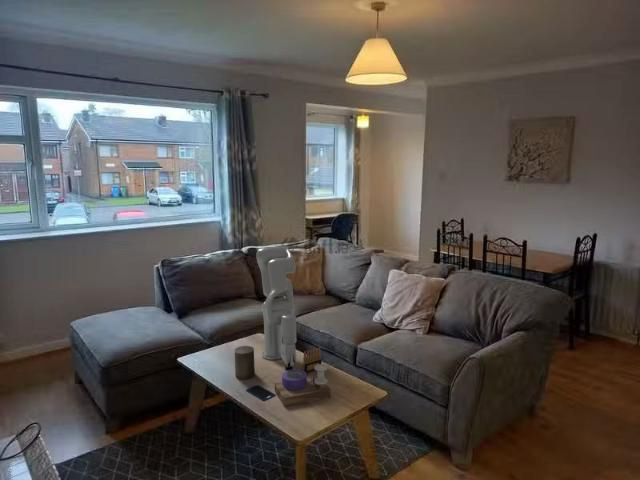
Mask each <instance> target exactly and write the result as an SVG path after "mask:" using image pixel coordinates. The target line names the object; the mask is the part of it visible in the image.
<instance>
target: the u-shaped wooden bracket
mask: <svg viewBox="0 0 640 480" xmlns="http://www.w3.org/2000/svg"><path fill="white" fill-rule="evenodd" d="M316 378H317V375H314V376H313V375H312V385H313V386H314V388H315V389H316V390H311V391H308V392H302V393H298V394H293V395H290V394H289V392H288V391H287V389H286V388H284V387H283V385H282V382H277V383H274V394H275V395H276V396H277V398H278V399H279V401H280V402H281V405H282V406H283V407H285V408H286V407H290V406H294V405H295V406H296V405H300V404H304V403H308V402H313V401H318V400H324V399H327V398H331V388H330V387H329V385H328V384H325V385H317V384H315V382H314V380H315V379H316Z"/></svg>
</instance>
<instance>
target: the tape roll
mask: <svg viewBox="0 0 640 480" xmlns="http://www.w3.org/2000/svg"><path fill="white" fill-rule="evenodd" d="M307 374H308V373H305V372H304V371H303V369H297V368H296V369H295V368H293V369H291V370H287V371H285V370H284V372H282V374H281V384H282V385H283V387H284V388H285V389H286V390H290V391H298V390H302V389H304V388H305V387H307V381H308V379H307V376H308V375H307Z"/></svg>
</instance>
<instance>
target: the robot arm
mask: <svg viewBox="0 0 640 480" xmlns="http://www.w3.org/2000/svg"><path fill="white" fill-rule="evenodd" d="M255 257H256V261H257V265H258V268H259V270H260V273H261V274H260V275H261V283H262V292H263V295H264V296H265V297H266V299H265V301H264V302H263V303H262V306H261V311H262V316H263V327H264V328H263V331H264V333H263V335H264V337H263V339H264V350H263V351H262V353H261V357H262V358H264V359H265V360H270V361H274V360H275V361H276V360H280V359H282V361H283V362H284V363H285V364H284V366H285V370H284V372H285V371H287V370H291V369H294V363H296V361H297V354H296V353H297V352H296V351H297V350H296V343H297V316H296V314H295V300H294V291H293V285H292V281H291V280H290V278H287V275H288V274H294V273H296V271H297V269H296V268H297V265H296V261H295V258H294V256H293V254H292V252H291V250H290V249H289V248H288V247H287V246H285V245H282V246H281V245H280V246H265V247H262V248H259V249H258V250H257V251H256V255H255ZM282 296H283V298H275V297H282Z"/></svg>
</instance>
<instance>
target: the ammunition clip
mask: <svg viewBox="0 0 640 480" xmlns="http://www.w3.org/2000/svg"><path fill="white" fill-rule="evenodd" d="M317 364H322V355H321V347H320V346H318V348H317V347H315V348H312V349H311V348H310V349H309V350H308V349H307V350H304V352H303V359H302V371H304V372H305V373H306V374H309V373H312V372H315V369H314V367H315V365H317Z"/></svg>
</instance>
